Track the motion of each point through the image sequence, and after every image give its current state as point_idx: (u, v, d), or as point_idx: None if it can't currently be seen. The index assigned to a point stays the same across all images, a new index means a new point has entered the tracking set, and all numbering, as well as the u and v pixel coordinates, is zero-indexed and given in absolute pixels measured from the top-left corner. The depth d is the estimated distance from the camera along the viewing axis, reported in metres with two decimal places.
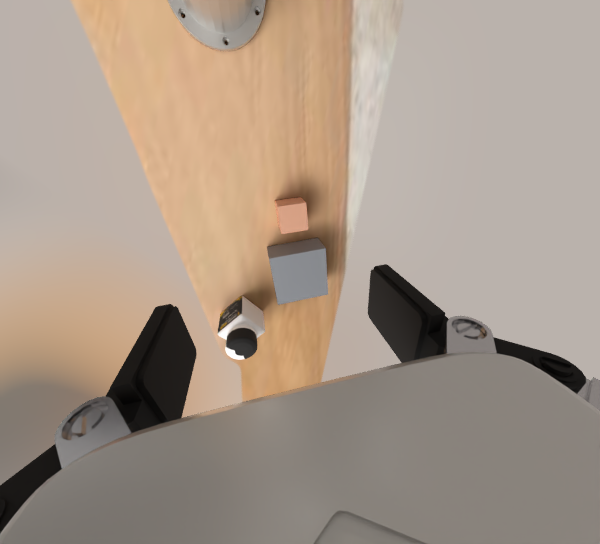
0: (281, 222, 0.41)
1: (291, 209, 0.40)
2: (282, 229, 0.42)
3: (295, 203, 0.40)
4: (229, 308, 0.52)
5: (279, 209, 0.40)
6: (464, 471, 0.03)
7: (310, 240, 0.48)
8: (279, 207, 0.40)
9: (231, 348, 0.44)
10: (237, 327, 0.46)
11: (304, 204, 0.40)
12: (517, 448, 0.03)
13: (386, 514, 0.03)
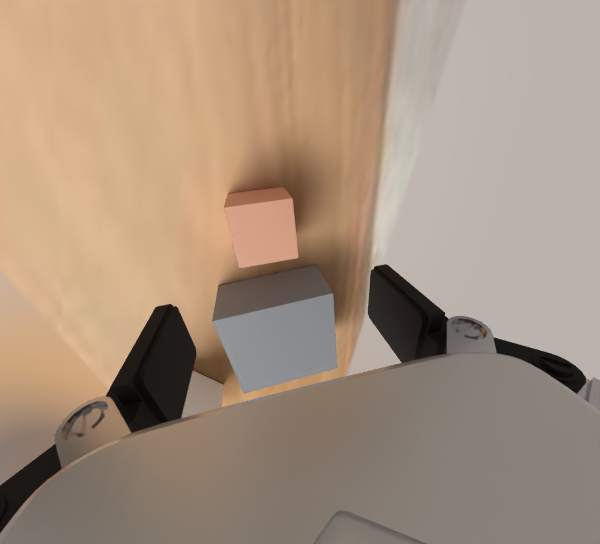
0: (236, 243, 0.18)
1: (258, 214, 0.17)
2: (239, 258, 0.18)
3: (267, 200, 0.17)
4: None
5: (228, 214, 0.17)
6: (464, 471, 0.03)
7: (302, 270, 0.25)
8: (227, 209, 0.16)
9: None
10: None
11: (288, 202, 0.17)
12: (517, 448, 0.03)
13: (386, 514, 0.03)
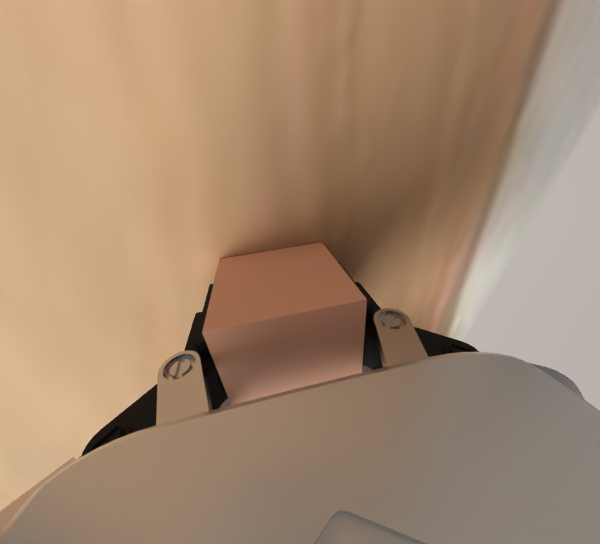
0: (233, 391, 0.08)
1: (286, 336, 0.07)
2: None
3: (306, 300, 0.07)
4: None
5: (213, 343, 0.07)
6: (464, 471, 0.03)
7: None
8: (212, 334, 0.07)
9: None
10: None
11: (356, 308, 0.07)
12: (517, 448, 0.03)
13: (387, 514, 0.03)
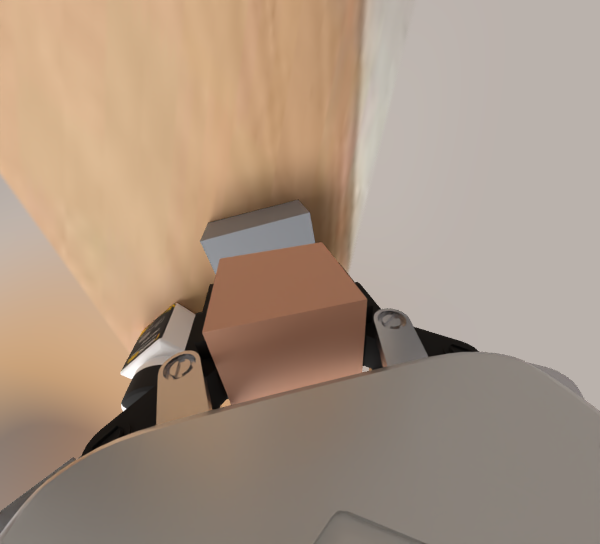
0: (233, 391, 0.08)
1: (286, 336, 0.07)
2: None
3: (307, 300, 0.07)
4: (153, 324, 0.30)
5: (214, 343, 0.07)
6: (464, 471, 0.03)
7: (284, 204, 0.27)
8: (212, 334, 0.07)
9: None
10: (151, 364, 0.25)
11: (357, 308, 0.07)
12: (517, 448, 0.03)
13: (386, 514, 0.03)
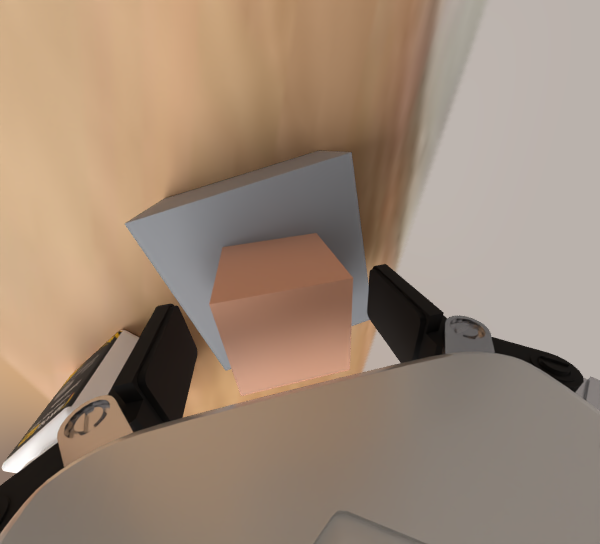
0: (235, 361, 0.09)
1: (282, 310, 0.08)
2: (242, 382, 0.10)
3: (300, 279, 0.08)
4: (83, 366, 0.19)
5: (219, 315, 0.08)
6: (464, 471, 0.03)
7: (296, 158, 0.15)
8: (218, 306, 0.08)
9: None
10: None
11: (344, 286, 0.08)
12: (517, 448, 0.03)
13: (386, 514, 0.03)
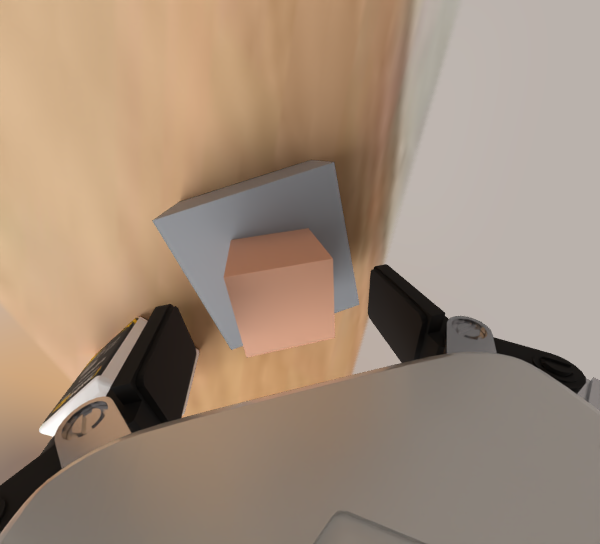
0: (242, 325, 0.11)
1: (279, 283, 0.11)
2: (247, 345, 0.12)
3: (292, 260, 0.11)
4: (104, 349, 0.21)
5: (230, 286, 0.10)
6: (464, 471, 0.03)
7: (291, 166, 0.18)
8: (230, 279, 0.10)
9: None
10: None
11: (326, 265, 0.11)
12: (517, 448, 0.03)
13: (386, 514, 0.03)
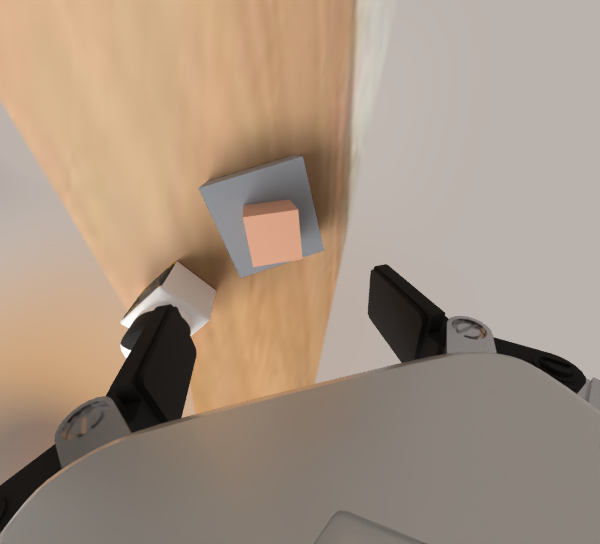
0: (251, 246, 0.22)
1: (270, 222, 0.21)
2: (253, 259, 0.22)
3: (277, 211, 0.21)
4: (153, 282, 0.31)
5: (246, 222, 0.20)
6: (464, 471, 0.03)
7: (280, 159, 0.28)
8: (245, 218, 0.20)
9: (130, 346, 0.23)
10: (150, 309, 0.25)
11: (294, 213, 0.21)
12: (517, 448, 0.03)
13: (387, 514, 0.03)
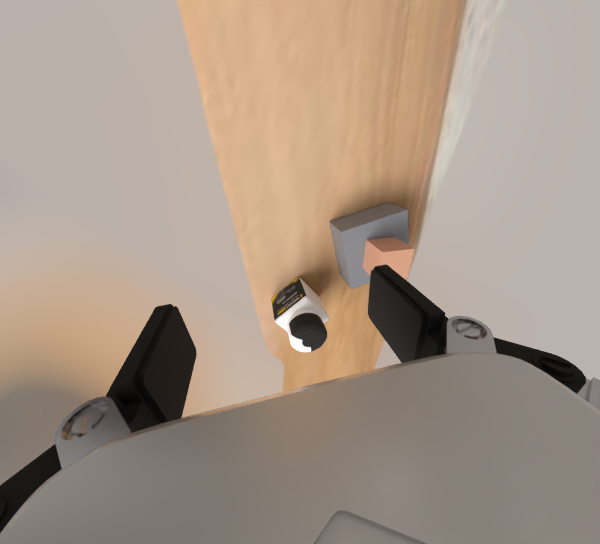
0: None
1: (396, 255, 0.33)
2: None
3: (400, 248, 0.33)
4: (283, 292, 0.43)
5: (383, 255, 0.32)
6: (464, 471, 0.03)
7: (380, 206, 0.40)
8: (383, 253, 0.32)
9: (299, 336, 0.35)
10: (302, 312, 0.37)
11: (411, 250, 0.33)
12: (517, 448, 0.03)
13: (387, 514, 0.03)
